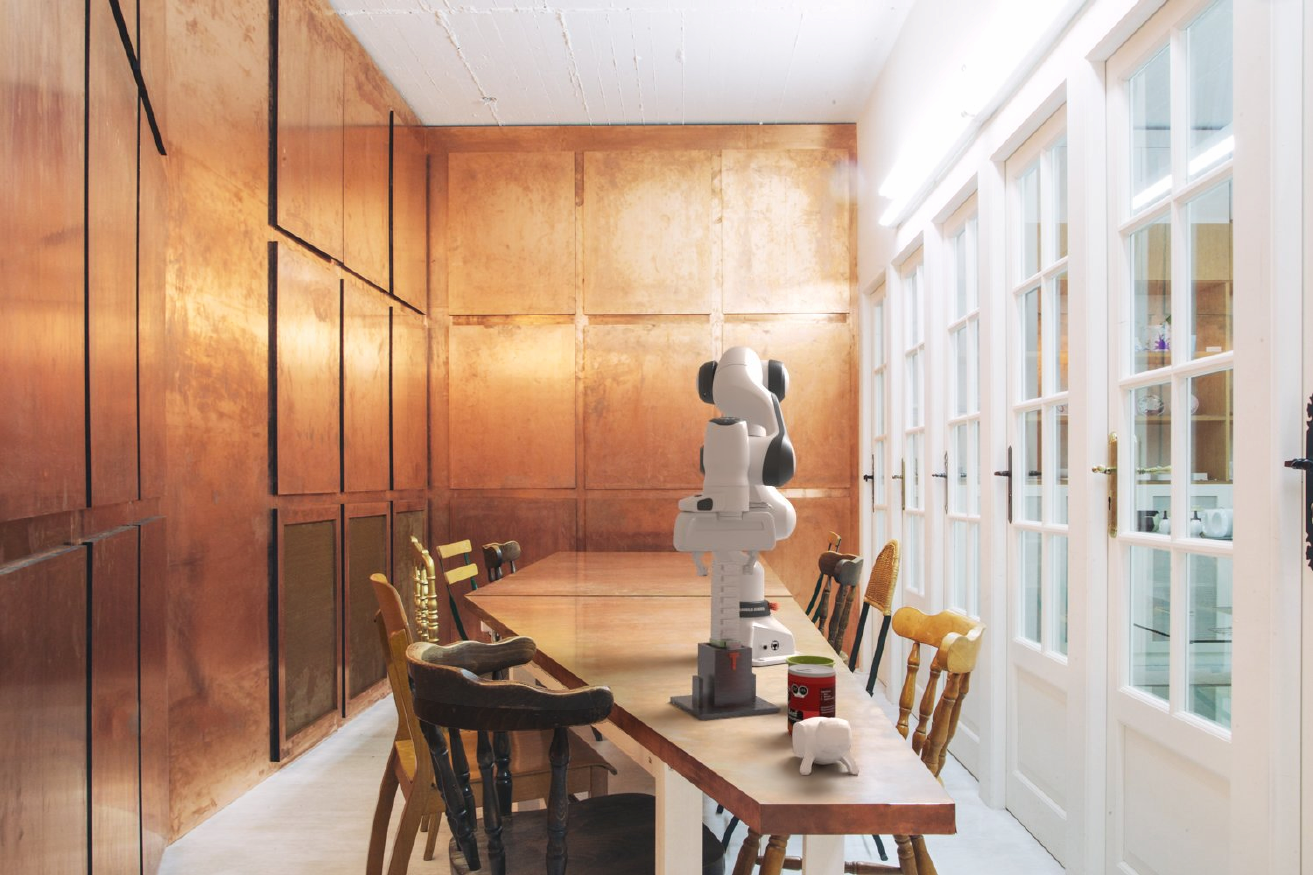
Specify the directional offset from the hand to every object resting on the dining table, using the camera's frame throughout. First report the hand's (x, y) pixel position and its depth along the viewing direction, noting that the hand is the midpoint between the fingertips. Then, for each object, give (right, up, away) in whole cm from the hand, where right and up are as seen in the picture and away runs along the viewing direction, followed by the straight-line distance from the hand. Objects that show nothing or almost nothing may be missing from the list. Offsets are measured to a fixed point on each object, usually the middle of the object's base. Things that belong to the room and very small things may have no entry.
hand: (725, 575), depth 168 cm
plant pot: (+16, -25, +1) cm, 30 cm away
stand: (0, -25, -1) cm, 25 cm away
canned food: (+13, -24, -19) cm, 33 cm away
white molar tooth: (+12, -23, -36) cm, 45 cm away
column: (0, -17, -1) cm, 17 cm away
